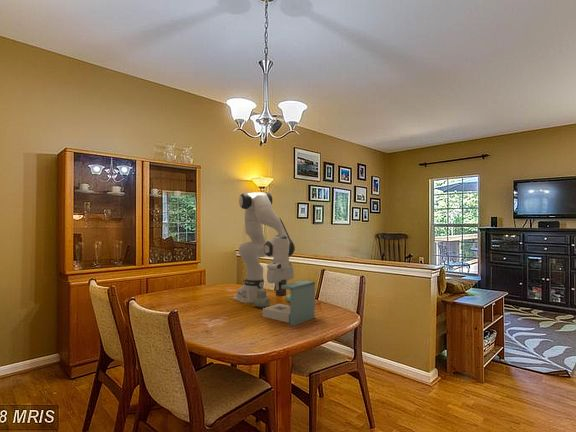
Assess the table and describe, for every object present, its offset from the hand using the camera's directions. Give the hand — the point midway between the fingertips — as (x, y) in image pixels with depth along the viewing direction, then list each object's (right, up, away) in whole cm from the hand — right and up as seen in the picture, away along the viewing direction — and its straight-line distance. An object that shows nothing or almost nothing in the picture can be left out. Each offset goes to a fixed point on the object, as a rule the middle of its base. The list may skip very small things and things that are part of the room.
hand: (280, 289), depth 191 cm
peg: (0, -4, 0) cm, 4 cm away
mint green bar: (+10, -16, +26) cm, 32 cm away
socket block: (+1, -15, -1) cm, 15 cm away
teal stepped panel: (+9, -15, -7) cm, 19 cm away
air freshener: (-12, -15, +20) cm, 28 cm away
